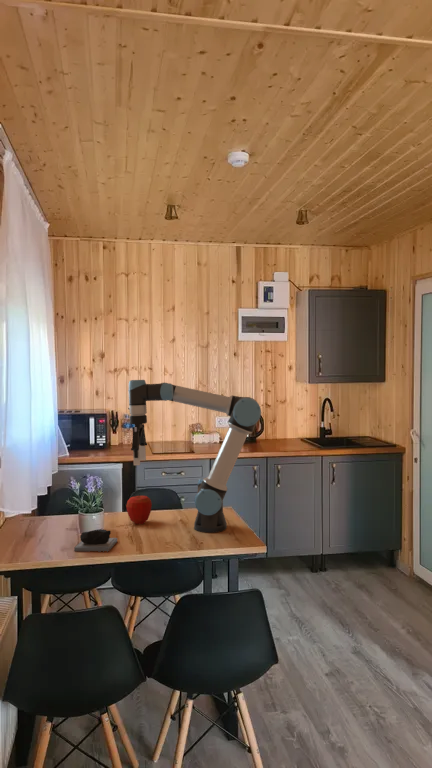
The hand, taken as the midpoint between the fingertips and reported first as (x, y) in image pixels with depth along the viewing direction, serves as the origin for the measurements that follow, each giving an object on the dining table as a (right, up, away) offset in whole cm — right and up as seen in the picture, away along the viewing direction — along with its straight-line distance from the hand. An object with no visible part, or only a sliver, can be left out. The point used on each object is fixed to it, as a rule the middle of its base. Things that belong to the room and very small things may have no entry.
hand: (139, 462), depth 247 cm
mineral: (-17, -32, -13) cm, 38 cm away
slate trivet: (-16, -33, -13) cm, 39 cm away
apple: (-3, -32, +22) cm, 39 cm away
